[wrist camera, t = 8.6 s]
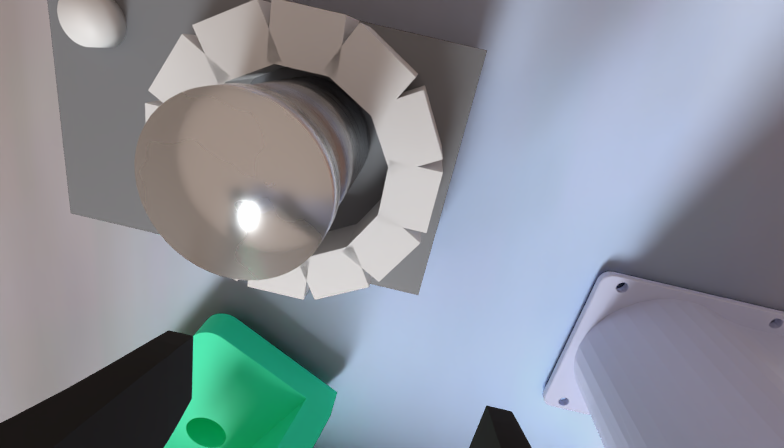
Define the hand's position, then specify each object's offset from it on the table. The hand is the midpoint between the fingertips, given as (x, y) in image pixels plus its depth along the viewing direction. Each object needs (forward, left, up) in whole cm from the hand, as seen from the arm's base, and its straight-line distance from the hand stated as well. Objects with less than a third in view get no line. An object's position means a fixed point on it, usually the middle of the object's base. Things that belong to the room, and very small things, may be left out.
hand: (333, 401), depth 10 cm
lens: (+3, -5, -6) cm, 8 cm away
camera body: (+5, -4, -10) cm, 12 cm away
